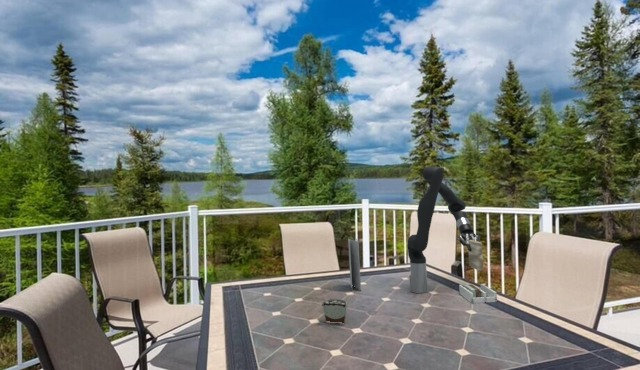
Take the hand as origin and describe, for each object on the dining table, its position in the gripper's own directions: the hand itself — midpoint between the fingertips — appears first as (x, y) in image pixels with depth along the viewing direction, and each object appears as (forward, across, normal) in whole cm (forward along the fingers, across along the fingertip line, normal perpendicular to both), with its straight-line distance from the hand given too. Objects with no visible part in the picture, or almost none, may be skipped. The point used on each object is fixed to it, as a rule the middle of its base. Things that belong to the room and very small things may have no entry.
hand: (473, 250), depth 212 cm
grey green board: (+8, 0, +5) cm, 10 cm away
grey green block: (+24, -5, +10) cm, 26 cm away
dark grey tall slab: (+3, -67, +32) cm, 74 cm away
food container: (+42, -81, -8) cm, 92 cm away
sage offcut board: (+24, -7, +10) cm, 27 cm away
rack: (+24, -3, +10) cm, 26 cm away
